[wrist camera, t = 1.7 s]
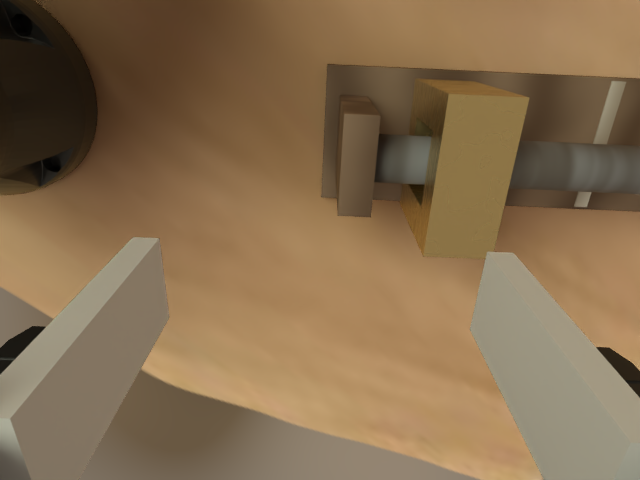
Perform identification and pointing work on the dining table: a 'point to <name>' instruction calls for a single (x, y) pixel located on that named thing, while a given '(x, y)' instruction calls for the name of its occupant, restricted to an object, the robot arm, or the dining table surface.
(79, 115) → the robot arm
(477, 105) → the collar
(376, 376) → the dining table surface
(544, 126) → the pipe rig
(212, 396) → the dining table surface
